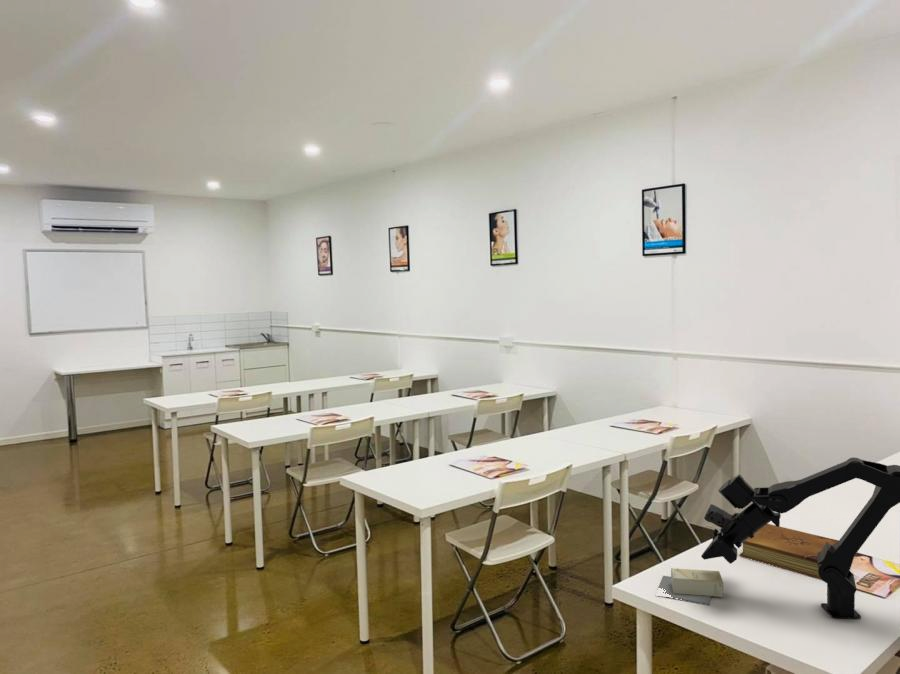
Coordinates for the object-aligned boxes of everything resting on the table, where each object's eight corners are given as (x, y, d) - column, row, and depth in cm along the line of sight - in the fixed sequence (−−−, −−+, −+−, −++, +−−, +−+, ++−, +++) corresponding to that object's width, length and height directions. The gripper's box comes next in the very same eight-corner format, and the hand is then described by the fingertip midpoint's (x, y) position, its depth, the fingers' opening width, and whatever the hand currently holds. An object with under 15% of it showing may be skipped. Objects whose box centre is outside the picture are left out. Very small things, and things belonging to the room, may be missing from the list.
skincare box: (723, 581, 166) (673, 577, 169) (723, 598, 166) (673, 594, 169) (719, 570, 172) (670, 567, 175) (718, 586, 173) (670, 583, 175)
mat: (713, 585, 174) (713, 583, 174) (709, 605, 163) (709, 603, 163) (663, 576, 180) (663, 575, 180) (655, 595, 169) (655, 594, 169)
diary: (849, 561, 187) (849, 542, 186) (825, 582, 175) (825, 561, 174) (766, 539, 204) (766, 521, 204) (739, 557, 192) (739, 538, 191)
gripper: (727, 486, 176) (684, 521, 182) (721, 508, 159) (674, 546, 165) (759, 519, 173) (714, 553, 179) (757, 544, 156) (708, 581, 162)
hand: (702, 557), depth 171 cm, fingers closed
